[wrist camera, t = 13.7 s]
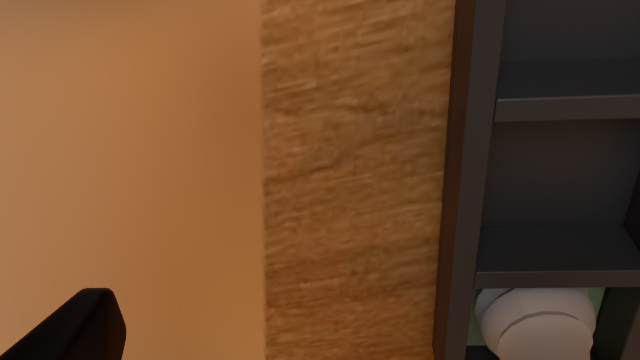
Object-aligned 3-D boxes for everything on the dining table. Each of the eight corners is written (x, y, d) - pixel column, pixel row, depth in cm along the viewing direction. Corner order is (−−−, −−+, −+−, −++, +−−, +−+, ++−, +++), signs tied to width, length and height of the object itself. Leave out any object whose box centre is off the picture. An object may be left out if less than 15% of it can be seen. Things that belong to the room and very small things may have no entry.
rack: (432, 344, 27) (440, 404, 24) (467, -183, 15) (490, -173, 13) (598, 343, 26) (625, 404, 24) (766, -203, 15) (853, -198, 12)
